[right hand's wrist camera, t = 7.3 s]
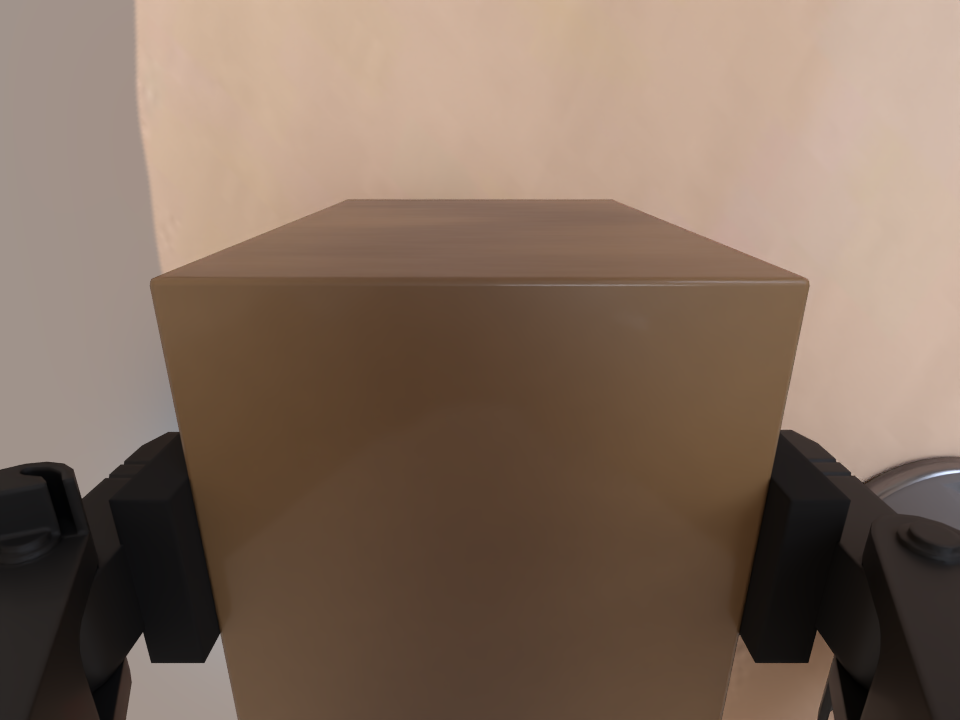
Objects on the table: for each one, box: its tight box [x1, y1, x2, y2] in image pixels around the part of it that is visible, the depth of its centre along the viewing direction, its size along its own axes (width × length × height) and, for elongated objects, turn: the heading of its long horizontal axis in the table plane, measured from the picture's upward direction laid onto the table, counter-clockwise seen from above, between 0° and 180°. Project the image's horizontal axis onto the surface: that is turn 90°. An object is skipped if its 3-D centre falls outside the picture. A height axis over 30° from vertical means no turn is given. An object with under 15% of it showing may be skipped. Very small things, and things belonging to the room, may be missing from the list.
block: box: [150, 200, 809, 720], centre depth 13 cm, size 8×8×11 cm
